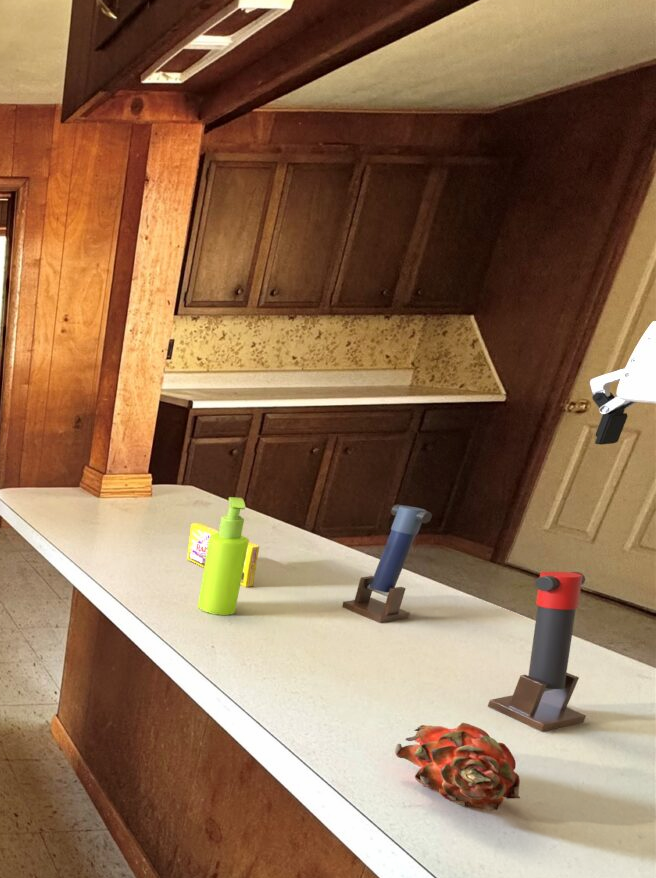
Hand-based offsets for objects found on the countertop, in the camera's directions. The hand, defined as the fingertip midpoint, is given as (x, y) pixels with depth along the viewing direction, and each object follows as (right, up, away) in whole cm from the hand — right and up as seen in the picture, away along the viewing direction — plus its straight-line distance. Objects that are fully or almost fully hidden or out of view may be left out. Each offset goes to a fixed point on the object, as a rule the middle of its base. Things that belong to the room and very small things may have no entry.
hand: (652, 449), depth 86 cm
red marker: (-19, -23, -4) cm, 30 cm away
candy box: (-32, -16, +46) cm, 58 cm away
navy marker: (-13, -12, +23) cm, 30 cm away
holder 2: (-18, -34, -2) cm, 39 cm away
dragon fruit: (-40, -40, -15) cm, 59 cm away
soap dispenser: (-41, -22, +30) cm, 55 cm away
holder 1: (-15, -23, +27) cm, 38 cm away
